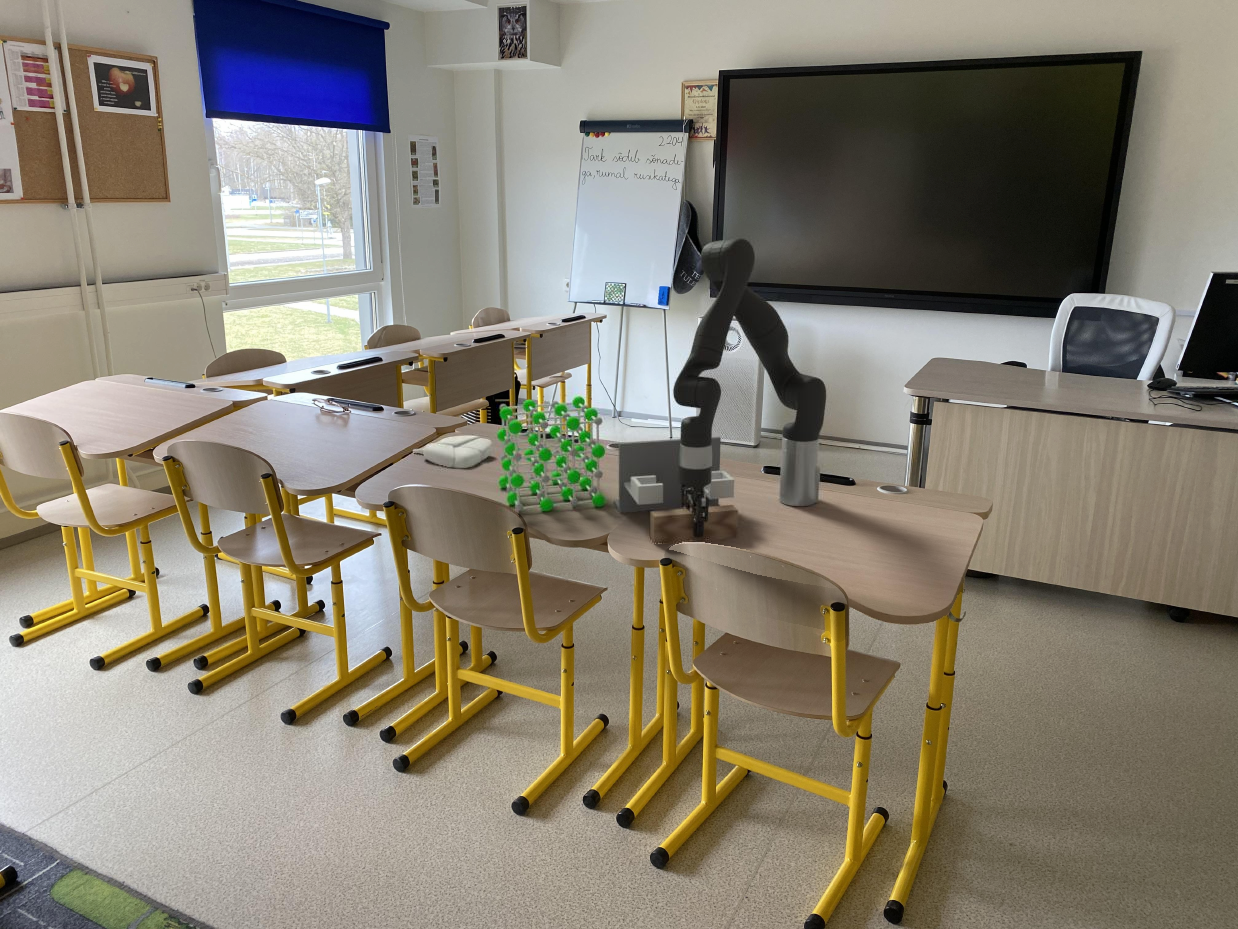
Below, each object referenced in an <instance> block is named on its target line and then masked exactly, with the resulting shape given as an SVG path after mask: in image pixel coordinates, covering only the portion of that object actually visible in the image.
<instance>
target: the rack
mask: <svg viewBox="0 0 1238 929" xmlns="http://www.w3.org/2000/svg"><path fill="white" fill-rule="evenodd" d="M721 440H722V438H721V436H712V443H711V447H712V480H711V483H710V484H709V485H706V486H705V487H704V488H703V489H704V492H705V496H706V497H708V498H709V507H713V506H719V501H720V499H732V498H734V497H735V496H734V494H735V479H734V478H733V477H732V476H731V475H730V474H729V473H728V472H726V470H723V469H722V470H720V468H721V466H720V465H721V444H722V443H721V442H722V441H721ZM679 450H680V438H674V439H657V440H643V441H627V442H626V441H622V442H618V499H613V505H614V506H615V508H616V510H617V511H618V512H619V514H624V513H625V514H626V513H637V512H636V511H640V512H647V511H646V510H652V511H661V510H674V509H683V507H684V506H682V504H681V483H680V482H679Z"/></svg>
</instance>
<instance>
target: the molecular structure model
mask: <svg viewBox="0 0 1238 929" xmlns="http://www.w3.org/2000/svg"><path fill="white" fill-rule="evenodd" d="M585 404H586V401H585V398H584V397H582V396H580V395H578V396H577V395H576V396H575V397H574V398H573V399H572V402H558V401H557V400H553V401H552V402H551V403H543V404H536V402H534V400H533V399H526V400H524V401H523V404H522V405H515V406H514V405H513V406H507V405H506V403H501V404H500V405H499V410H500V411H499V416H500V419H501V426H502V428H501V429H500V430H498V431H497V435H496V436H497V439H498V440H499V441H500V442H502V452H503V453H502V454H501V456H500V460H501V461H502V462H501V468H502V469H503V472H504V473H503V475H502V476H501V477H500V478H499V479H498V485H499V487H501V488H503V489H506V490H505V491H506V493H507V496H506V500H507V503H508V504H510V505H511V506H514V509H515V511H517V512H522V511H523V510H529V509H539V508H540V509H541V511H543V512H545V511H546V512H550V511H551V510H552V509H553V507H559V506H562V507H563V506H571V507H576V506H578V505H580V504H593V505H594V506H595V507H597V508H600V507H603V506H604V505H605V503H606V496H605V495H603V494H602V493H601V491H600V490H601V489H600V488H601V487H600V483H601V482H600V480H601V478H602V477H603V475H604V474H603V472H602V470H600V459H601V458H603V457H604V456H605V454H606V449H605V447H604V446H603V445H601V444H600V425H602V423H603V419H602V417H601V416H599V413H598V410H596V408H594V407H590V408H589V405H585ZM567 406H573V407H574V408H570V409H569V408H567ZM541 407H543V408H544V407H552V408H553V409H552V410H539V411H538V409H537V408H541ZM512 409H523V410H524V411H523V412H522V411H520V412H513V410H512ZM568 412H577V415H571V414H570V413H568ZM581 412H582V413H583V414H581ZM549 413H550V414H551V413H553V416H549V417H546V415H545V414H549ZM520 415H522V416H523V415H527V418H523V419H522V418H520V419H516V417H515V416H520ZM531 416H532V418H531ZM581 418H583V421H581ZM549 420H553V421H554V423H548V421H549ZM558 420H559V423H558ZM563 421H565V422H563ZM521 422H528V424H526V425H522V423H521ZM531 422H532V424H531ZM587 424H589V428H590V429H589V430H590V431H589V430H587ZM593 424H595V425H596V441H595V440H594V435H593V434H594V433H593V432H594V431H593V430H594V429H593V427H594V425H593ZM581 425H583V427H582V426H581ZM563 426H565V429H563ZM548 427H550V429H549V431H546V430H547V428H548ZM527 428H528V429H527ZM536 428H537V431H536ZM523 429H527V431H526V432H524V433H523V432H522V431H523ZM541 430H542V431H541ZM563 433H565V435H563ZM569 433H571V437H569ZM575 433H577V436H575ZM547 434H550V436H551V437H552V438H546V435H547ZM541 435H542V438H541ZM518 436H520V437H521V436H526V437H528V439H527V440H521V441H520V440H519V441H518ZM575 440H578V442H575ZM547 442H554V444H553V445H547V444H546V443H547ZM558 442H559V444H558ZM520 444H528V446H527V447H524V446H523V447H519V445H520ZM587 446H588V447H589V448H590V450H588V448H587ZM550 448H555V449H554V451H551V449H550ZM558 448H560V451H559V450H558ZM519 451H524V454H523V455H521V453H520V452H519ZM537 452H538V454H537ZM588 454H590V457H589V456H588ZM569 455H570V456H571V459H570V458H569ZM552 457H553V458H555V460H551V459H552ZM537 458H538V459H537ZM594 458H596V460H595V459H594ZM522 459H525V460H526V461H527V462H521V463H520V462H519V461H520V460H522ZM571 462H572V467H571V466H570V465H569V464H570V463H571ZM576 462H578V466H576ZM582 463H584V466H582ZM547 464H555V468H550V469H548V468H547ZM519 466H520V467H521V466H523V467H524V466H529V470H526V471H519ZM582 470H584V473H583V472H582ZM549 472H551V475H550V476H549V475H548V473H549ZM588 473H589V474H588ZM524 474H525V475H527V474H529V476H528V478H527V479H525V478H524V477H523V475H524ZM533 474H534V476H533ZM564 474H566V475H565V476H564ZM538 477H539V478H538ZM589 477H590V478H589ZM594 477H595V479H596V488H595V486H594ZM564 480H566V482H565V481H564ZM549 481H551V482H552V483H553V484H555V485H549V486H548V483H549ZM524 483H529V487H525V488H521V487H522V486H524ZM543 483H544V486H543ZM570 483H571V484H570ZM576 487H580V488H581V489H582V490H588V491H579V492H576ZM558 488H559V489H561V493H556V494H548V489H558ZM543 490H544V492H543ZM526 491H530V492H531V493H532V494H533V495H535V496H525V497H524V496H523V497H521V496H520V492H526ZM586 494H587V495H588V494H589V495H590V496H592V498H591V500H582V501H581V500H580V501H579V500H578V499H577V498H576V496H577V495H578V496H579V495H586ZM556 497H561V498H562V499H563V500H566V501H570V502H561V503H559V502H558V503H553V500H552V499H551V498H556ZM534 499H538V500H539V501H540V502H539V505H530V506H524V505H523V504H522V503H521V501H523V500H534Z"/></svg>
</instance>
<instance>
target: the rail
mask: <svg viewBox="0 0 1238 929" xmlns="http://www.w3.org/2000/svg"><path fill="white" fill-rule="evenodd" d="M649 512H650V515H649V517H650V519H649V523H650V524H649V526H650V527H649V531H650V532H649V539H650V541H651V540H652V541H651V542H652V544H653V543H654V544H655V543H656V544H655V545H659V544H658V543H662V544H661V545H664V544H663V543H666V544H677V543H676V542H678V543H683V542H682V541H690V540H701V541H711V540H722V539H735V538H737V537H738V518H739V510H738V508H737V507H735V505H733V504H729V505H728V504H727V505H716V506H709V508H708V521H707V522H704V532H703V537H697V538H695V537H694V535H693V527H694V521H693V513H692V512H691V511H690V508H687V509H683V508H678V509H665V510H652V511H649ZM700 517H701V513H700ZM706 539H707V540H706ZM708 539H709V540H708ZM690 542H691V541H690ZM654 544H653V545H654Z"/></svg>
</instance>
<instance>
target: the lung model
mask: <svg viewBox="0 0 1238 929" xmlns="http://www.w3.org/2000/svg"><path fill="white" fill-rule="evenodd" d="M493 450H494V443H493V441H491V440H490V439H488V438H484V437H481V436H478V435H455V436H454V435H453V436H449V437H445V438H442V439H440V440H439V441H437V442H435V443H434V442H433V443H432V442H431V443H428V444H426V445H425V446H424V447H423V448H414V449H412V453H413V454H414V453H418V454H420V453H419V452H422V453H421V454H423V456H424V458H425V459H426V460H428V461H429V462H431V463H433V464H435V465H437V464H439V465H438V466H441V465H443V466H442V467H445V466H446V468H456V469H467V468H468V467H469V468H471V467H474V466H476V465H477V464H479V463H480V462H482V461H484V460H485V459H487V458H488V457H489V456H491V454H492V452H493Z"/></svg>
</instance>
